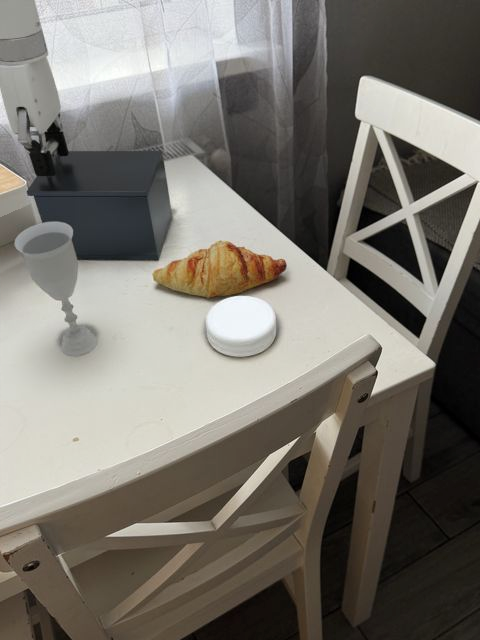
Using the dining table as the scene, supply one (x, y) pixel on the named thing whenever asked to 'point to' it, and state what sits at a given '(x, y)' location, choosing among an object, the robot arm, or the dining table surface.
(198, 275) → the croissant
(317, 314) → the dining table surface
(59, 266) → the chalice
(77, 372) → the dining table surface
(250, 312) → the white short cylinder
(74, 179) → the lid
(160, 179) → the dark grey box
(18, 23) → the robot arm
